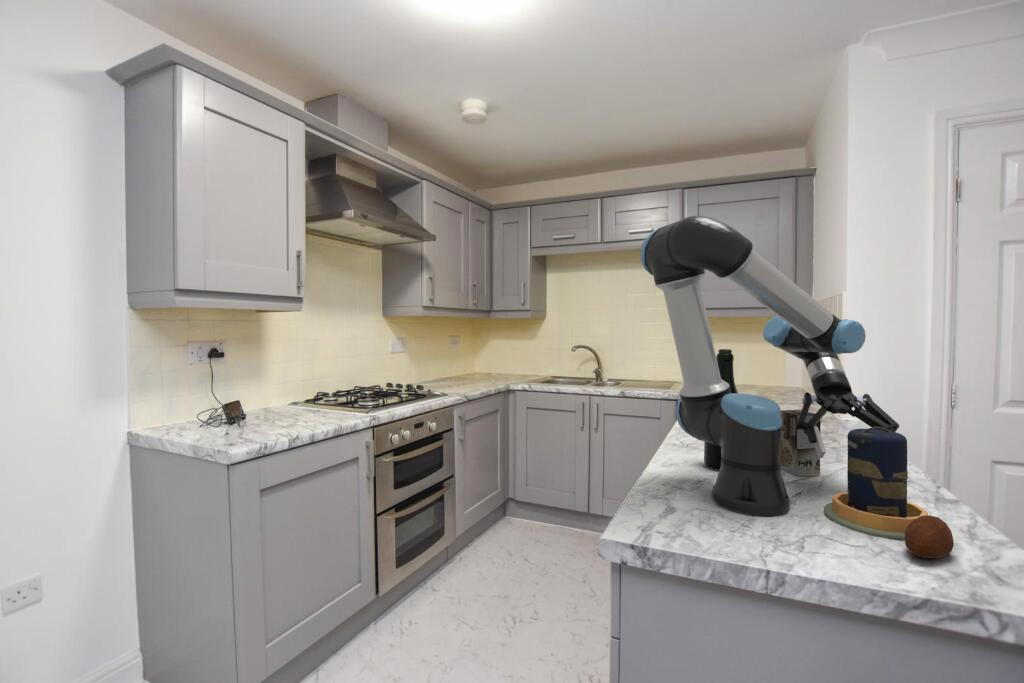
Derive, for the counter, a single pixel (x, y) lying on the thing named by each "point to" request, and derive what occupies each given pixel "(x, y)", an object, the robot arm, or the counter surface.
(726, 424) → the robot arm
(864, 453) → the canister
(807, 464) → the coffee box
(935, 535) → the potato
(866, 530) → the green orange round dish
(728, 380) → the dark wine bottle
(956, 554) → the counter surface
